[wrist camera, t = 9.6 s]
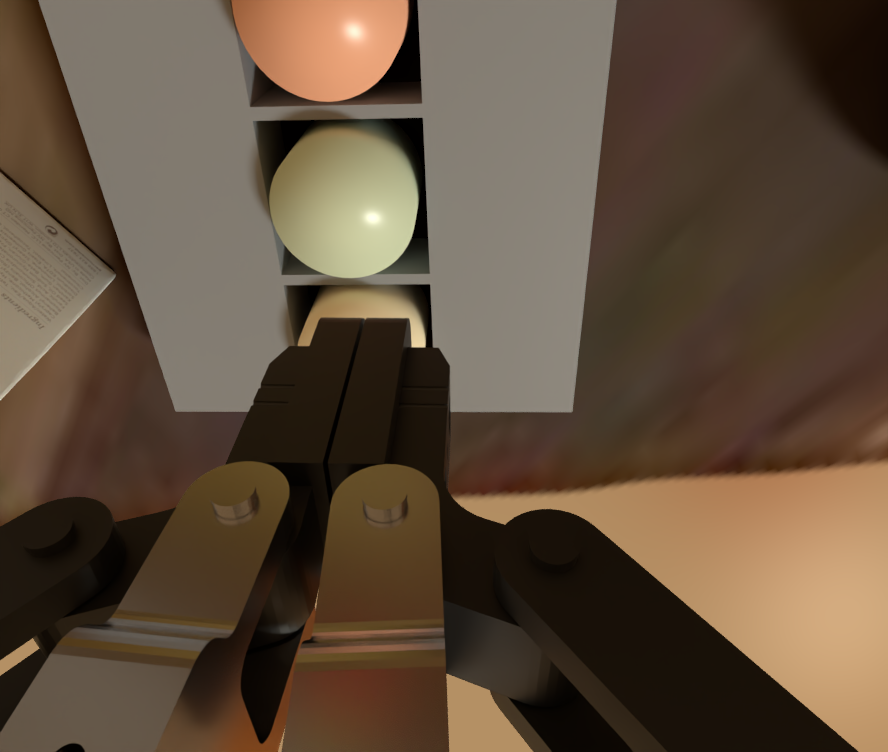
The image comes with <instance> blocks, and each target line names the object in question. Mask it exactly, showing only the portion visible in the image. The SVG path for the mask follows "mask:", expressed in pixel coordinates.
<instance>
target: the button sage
mask: <svg viewBox="0 0 888 752" xmlns="http://www.w3.org/2000/svg"><path fill="white" fill-rule="evenodd" d="M422 176H423V174H422V165H421V161H420V157H419V155H418V152H417V150H416V148H415V146H414V144H413V142H412V141H411V139H410V138H409V136H408V135H407V134H406V133H405V132H404V130H403V129H402V128H401V127H400V126H398V125H397V124H396V123H395V122H394V121H392V120H391V119H389V118H381V119H328V120H316V121H314V122H313V123H312V124H311V125H310V126H309V127H308V128H307V129H306V131H305V132H304V133H303V135H302V136H301V137H300V139H299V140H298V142H297V143H296V144H295V146H294V147H293V148H292V150H291V151H290V152H289V154H288V155H287V156H286V158H285V159H284V161H283V162H282V163H281V165H280V166H279V168H278V169H277V171H276V173H275V175H274V178H273V181H272V184H271V189H270V195H269V205H270V214H271V217H272V221H273V224H274V227H275V229H276V232H277V233H278V235H279V237H280V239H281V240H282V242H283V243H284V245H285V246H286V247H287V248H288V250H289V251H290V252H291V253H292V254H293V255H294V256H295V257H296V258H298V259H299V260H300V261H301V262H303V263H304V264H306V265H307V266H309V267H311V268H312V269H314V270H316V271H319V272H321V273H324V274H327V275H330V276H335V277H341V278H360V277H365V276H369V275H372V274H375V273H378V272H380V271H382V270H384V269H385V268H387V267H389V266H390V265H391V264H393V263H394V262H395V261H396V260H397V259H398V258H399V257H400V256H401V255H402V254H403V252H404V251H405V249H406V248H407V246H408V244H409V242H410V240H411V238H412V234H413V231H414V226H415V221H416V216H417V210H418V205H419V199H420V194H421V188H422Z"/></svg>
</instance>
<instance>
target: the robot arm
mask: <svg viewBox="0 0 888 752" xmlns="http://www.w3.org/2000/svg"><path fill="white" fill-rule="evenodd" d="M450 438H451V412H450V365H449V363H448V362H447V360H446V359H445V357H444V355H443V354H442V352H441V351H440V349H439V348H432V347H412V342H411V326H410V320H409V318H366V319H364V318H336V317H321V318H320V319H319V321H318V324H317V326H316V329H315V332H314V334H313V337H312V340H311V343H310V345H309V346H289V347H288V348H287V349H285V350H284V351H283V352H282V353H281V354H280V355H279V356H277V357H276V358H275V359H274V360H273V361H272V362H271V363H270V364H269V366H268V368H267V370H266V373H265V375H264V377H263V380H262V382H261V388H259V389H258V391H257V393H256V396H255V398H254V400H253V406H252V405H251V407H250V409H249V412H248V414H247V416H246V418H245V421H244V423H243V425H242V428H241V430H240V432H239V435H238V437H237V439H236V441H235V444H234V446H233V448H232V451H231V453H230V455H229V457H228V460H227V462H226V464H225V465H223V466H220V467H218V468H215V469H213V470H211V471H209V472H207V473H206V474H204V475H203V476H201V477H200V478H199V479H197V480H196V481H195V482H194V483H193V484H192V485H191V486H190V487H189V488H188V489H187V491H186V492H185V494H184V495H183V497H182V499H181V500H180V502H179V504H178V505H177V507H175V508H173V509H170V510H166V511H163V512H158V513H154V514H150V515H145V516H141V517H136V518H132V519H128V520H123V521H119V522H115V521H114V519H113V516H112V514H111V512H110V510H109V509H108V508H107V507H106V506H105V505H104V504H103V503H101V502H99V501H97V500H95V499H91V498H86V497H69V498H63V499H58V500H54V501H51V502H47V503H45V504H42V505H40V506H37V507H35V508H33V509H31V510H29V511H27V512H25V513H24V514H22V515H20V516H18V517H17V518H15V519H13V520H11V521H10V522H8V523H6V524H4V525H3V526H1V527H0V660H1V659H3V658H4V657H5V656H7V655H8V654H10V653H11V652H13V651H14V650H16V649H17V648H19V647H20V646H22V645H23V644H25V643H26V642H27V641H29V640H30V639H32V638H33V639H34V641H35V642H36V644H37V645H38V646H39V648H40V649H38V650H37V651H35V652H34V653H33V654H31V655H30V656H28V657H27V658H25V659H24V660H22V661H21V662H20V663H18V664H17V665H15V666H14V667H12V668H11V669H10V670H8V671H7V672H5V673H4V674H2V675H1V676H0V752H278V749H279V745H280V742H281V739H282V736H283V732H284V729H285V733H284V739H283V746H282V752H449V736H448V735H449V734H448V707H447V683H446V681H447V680H446V673H447V674H449V675H452V676H455V677H457V678H460V679H462V680H465V681H468V682H470V683H473V684H475V685H478V686H481V687H483V688H486V689H488V690H490V692H491V695H492V697H493V699H494V701H495V703H496V704H497V706H498V707H499V709H500V710H501V711H502V712H503V714H504V715H505V716H506V718H507V719H508V720H509V721H510V723H511V724H512V725H513V726H514V728H515V729H516V730H517V731H518V733H519V734H520V735H521V737H522V738H523V739H524V740H525V742H526V743H527V744H528V745H529V747H530V748H531V749H532V750H533V751H534V752H858V751H857V750H856V749H855V748H854V747H852V746H851V745H850V744H849V743H847V741H845V740H844V739H843V738H842V737H841V736H839V735H838V734H837V733H836V732H835V731H834V730H833V729H831V728H830V727H829V726H828V725H827V724H825V723H824V722H823V721H822V720H821V719H820V718H818V717H817V716H816V715H815V714H814V713H813V712H811V711H810V710H809V709H808V708H807V707H805V706H804V705H803V704H802V703H801V702H800V701H799V700H797V699H796V698H795V697H794V696H793V695H791V694H790V693H789V692H788V691H787V690H786V689H785V688H783V687H782V686H781V685H780V684H779V683H778V682H776V681H775V680H774V679H773V678H771V676H769V675H768V674H767V673H766V672H765V671H763V670H762V669H761V668H760V667H759V666H758V665H756V664H755V663H754V662H753V661H752V660H751V659H749V658H748V657H747V656H746V655H745V654H744V653H742V652H741V651H740V650H739V649H738V648H737V647H735V646H734V645H733V644H732V643H731V642H730V641H728V640H727V639H726V638H725V637H724V636H722V635H721V634H720V633H719V632H718V631H717V630H715V629H714V628H713V627H712V626H711V625H709V624H708V623H707V622H706V621H705V620H704V619H703V618H701V617H700V616H699V615H698V614H697V613H696V612H694V611H693V610H692V609H691V608H690V607H688V606H687V605H686V604H685V603H684V602H683V601H681V600H680V599H679V598H678V597H677V596H676V595H674V594H673V593H672V592H671V591H670V590H669V589H668V588H666V587H665V586H664V585H663V584H662V583H660V582H659V581H658V580H657V579H656V578H655V577H653V576H652V575H651V574H650V573H649V572H648V571H646V570H645V569H644V568H643V567H642V566H641V565H639V564H638V563H637V562H636V561H635V560H634V559H632V558H631V557H630V556H629V555H628V554H626V553H625V552H624V551H623V550H622V549H621V548H620V547H618V546H617V545H616V544H615V543H614V542H613V541H611V540H610V539H609V538H608V537H607V536H605V535H604V534H603V533H602V532H601V531H600V530H598V529H597V528H596V527H595V526H594V525H592V524H590V523H589V522H588V521H586V520H585V519H583V518H581V517H579V516H577V515H574V514H572V513H569V512H565V511H561V510H552V509H541V510H534V511H529V512H526V513H523V514H521V515H519V516H517V517H514V518H513V519H512V520H510V521H509V522H508V523H507V524H506V525H504V524H500V523H497V522H494V521H491V520H487V519H484V518H482V517H479V516H476V515H474V514H472V513H470V512H469V511H467V510H465V509H464V508H462V507H461V506H460V505H459V504H458V503H457V502H456V501H455V500H454V499H453V498H452V496H451V495H450V494H449V492H448V475H449V456H450ZM318 589H319V592H318ZM317 593H318V599H317V607H316V609H315V603H316V598H317ZM285 726H286V727H285Z"/></svg>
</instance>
